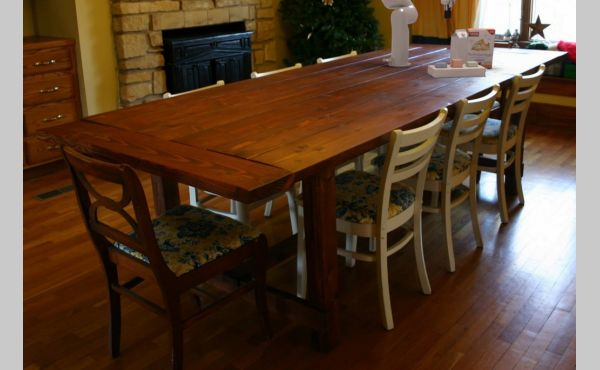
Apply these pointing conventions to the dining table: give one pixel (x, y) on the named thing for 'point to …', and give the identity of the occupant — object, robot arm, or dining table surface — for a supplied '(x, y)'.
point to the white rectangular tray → (456, 71)
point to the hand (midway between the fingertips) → (447, 18)
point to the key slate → (441, 65)
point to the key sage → (471, 64)
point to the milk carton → (458, 45)
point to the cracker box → (480, 46)
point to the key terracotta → (456, 63)
